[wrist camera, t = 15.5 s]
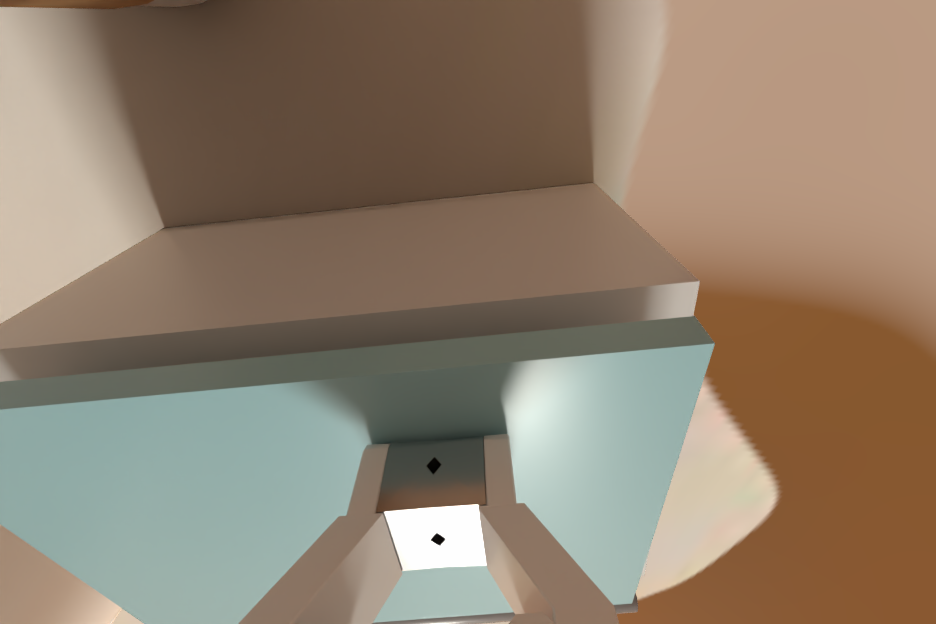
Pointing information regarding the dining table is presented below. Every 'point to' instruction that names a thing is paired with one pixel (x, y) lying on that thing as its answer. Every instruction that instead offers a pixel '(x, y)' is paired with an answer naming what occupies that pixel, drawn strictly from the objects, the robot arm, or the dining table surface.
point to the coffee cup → (96, 3)
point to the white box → (354, 283)
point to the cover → (343, 461)
